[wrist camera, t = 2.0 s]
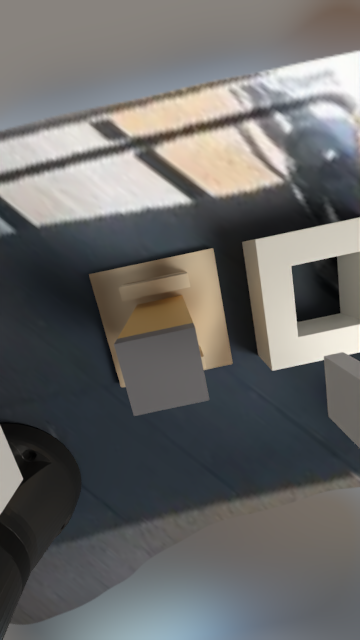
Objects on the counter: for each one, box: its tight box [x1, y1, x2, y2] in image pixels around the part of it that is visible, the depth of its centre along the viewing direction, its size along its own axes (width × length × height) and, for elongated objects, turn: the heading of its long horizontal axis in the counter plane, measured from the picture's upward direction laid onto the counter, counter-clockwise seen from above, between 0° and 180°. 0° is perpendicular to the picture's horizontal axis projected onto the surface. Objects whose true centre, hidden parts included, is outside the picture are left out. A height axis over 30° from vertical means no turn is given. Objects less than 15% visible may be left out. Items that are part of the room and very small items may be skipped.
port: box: [242, 217, 360, 371], centre depth 26 cm, size 12×12×4 cm
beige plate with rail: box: [89, 248, 233, 387], centre depth 26 cm, size 12×12×4 cm
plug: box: [114, 295, 209, 416], centre depth 21 cm, size 4×4×12 cm
